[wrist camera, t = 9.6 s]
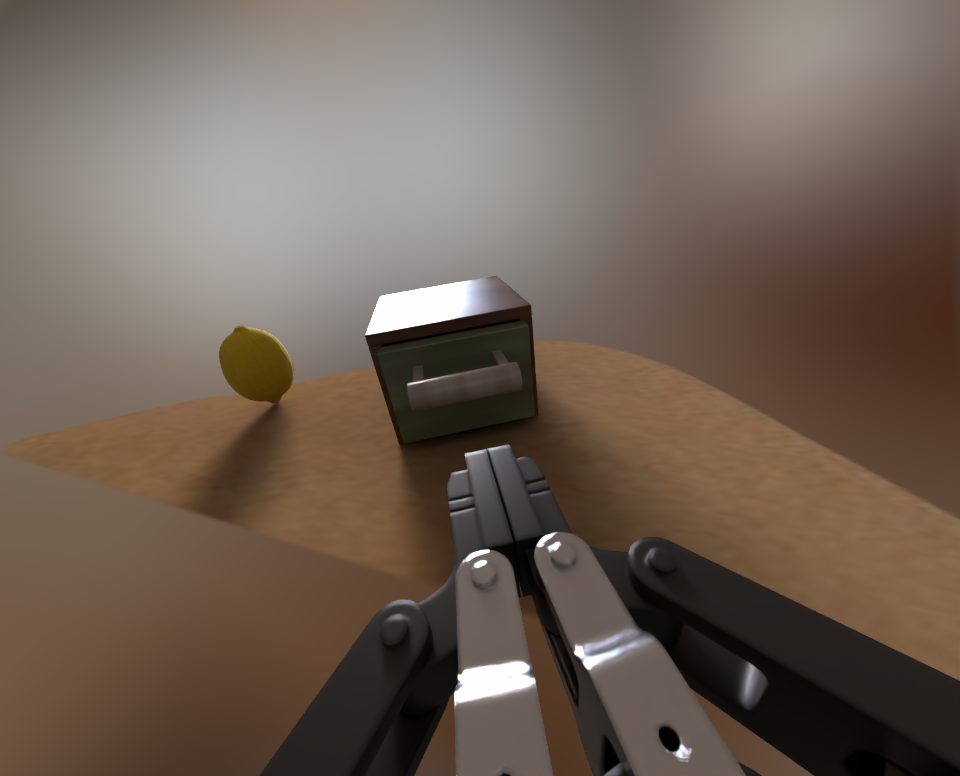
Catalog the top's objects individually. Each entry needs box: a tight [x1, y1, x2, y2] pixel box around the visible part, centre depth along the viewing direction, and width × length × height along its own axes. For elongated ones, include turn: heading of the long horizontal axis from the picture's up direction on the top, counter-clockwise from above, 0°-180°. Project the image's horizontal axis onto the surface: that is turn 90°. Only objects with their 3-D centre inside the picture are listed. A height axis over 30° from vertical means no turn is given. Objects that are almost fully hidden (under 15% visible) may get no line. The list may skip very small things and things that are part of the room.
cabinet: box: [365, 276, 538, 445], centre depth 28 cm, size 11×11×9 cm
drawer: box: [377, 320, 535, 443], centre depth 25 cm, size 14×9×7 cm
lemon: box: [219, 326, 294, 403], centre depth 32 cm, size 6×6×8 cm
